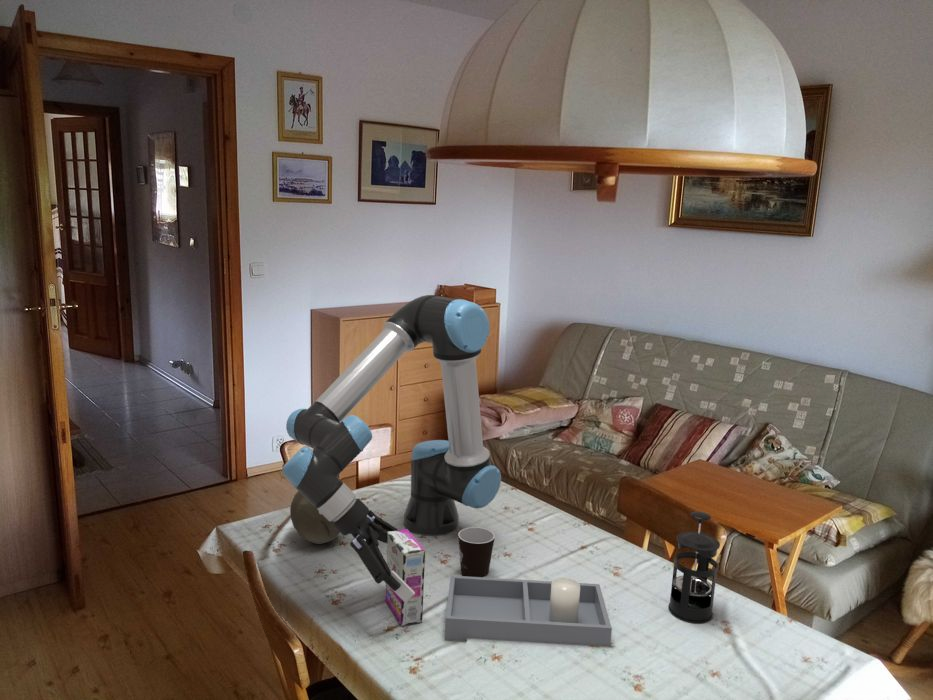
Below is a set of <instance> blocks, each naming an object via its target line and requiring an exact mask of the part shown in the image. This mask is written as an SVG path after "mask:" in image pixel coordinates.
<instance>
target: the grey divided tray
mask: <svg viewBox="0 0 933 700" xmlns="http://www.w3.org/2000/svg"><path fill="white" fill-rule="evenodd" d="M552 581H553V580H552ZM552 581H549V580H536V579H535V580H534V579H533V580H532V579H517V578H498V577H486V576H485V577H468V576H462V575H450V580H449V587H448V593H447V595H448V596H447V604H446V612H445V621H444V623H445V624H444V641H455V642H468V639H475V640H478V639H479V640H496V641H509V642H510V641H511V642H528V643H546V644H559V645H560V644H561V645H574V646H575V645H577V646H591V647H593V646H594V647H608V648H609V647H611V641H612V631H613V630H612V629H613V628H612V624H611V621H610V617H609V613H608V611H607V607H606V602H605V599H604V596H603V592H602V588H601V585H600V584H599V583H588V582H587V583H584V582H578V583H579V584H580V598H579V611H578V623H563V622H550V620H549V611H550V597H551V583H552Z"/></svg>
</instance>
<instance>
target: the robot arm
mask: <svg viewBox="0 0 933 700" xmlns="http://www.w3.org/2000/svg"><path fill="white" fill-rule="evenodd" d="M489 335H490V322H489V318H488V315H487V313H486V311H485V310H484V309H483V307H481V306H480V305H479V304H477V303H475V302H473V301H469V300H466V299H463V298H452V297H445V296H438V295H435V294H426V295H422V296H419V297H416V298H414V299H413V300H410V301H409V302H408V303H406V304H404V305H403V306H401V308H399V309H398V310H397V311H395V312H394V313H393V314H392V315H390V317H389V318H388V319H387V320H386V321H385V322H384V323H383V325H382V331H381V332H380V333H379V334H378V335H377V336H376V337H375V339H374V340H372V342H370V343H369V345H368V346H367V347H365V349H363V351H362V352H361V353H360V354H359V355H358V356H357V357H356V358H355V359H354V360H353V362H351V363H350V365H348V366H347V368H346V369H344V371H343V372H342V373H341V374H340V375H338V377H337V378H336V379H335V380H334V381H333V382H332V383H331V384H330V385H329V386H328V387H327V388H326V389H325V390H324V392H323V393H322V394H321V395H320V396H319V397H318V398H317V399H315V401H314V402H313V403H312V404H311V405H310V406H309V407H308V408H299V409H295V410H294V411H293V412H291V413H290V414H289V416H288V418H287V421H286V423H285V424H286V426H285V427H286V428H285V429H286V431H287V432H286V433H287V434H288V436H289V437H290V438H291V439H293V441H296V442H297V443H299V444H300V445H303V446H302V447H301V448H300V449H299V450H298V451H297V452H296V453H295V454H293V456H291V458H289V460H288V461H287V462H286V463H284V465H283V466H282V469H281V471H282V474H283V476H284V477H285V478H286V479H287V480H288V482H289V483H290V485H292V486H293V488H294V489H296V490H297V492H298V491H299V492H300V493H301V494H302V495H303V496H304V497H305V498H306V499H307V500H308V501H309V502H310V503H312V504H313V505H314V506H315V507H316V508H317V509H318V510H319V514H322V515H323V516H324V517H325V518H326V519H327V520H328V521H333V526H334V527H335V528H336V529H337V530H338V531H339V532H340V533H339V534H341V535H342V536H348V535H350V534H351V536H352V537H353V540H351V541H350V543H349V545H350V546H351V547H352V549H353V550H354V551H355V552H356V553H357V555H358V557H359V559H360V560H361V561H362V563H363V565H364V566H365V568H366V569H367V571H368V573H369V574H370V575H371V577H372V578H373V580H374V582H375V583H376V584H381V583H382V582H384V583H385V585H386V584H387V585H388V586H389V587H390V588H391V589H392V590H393V591H394V592H395V593H396V594H397V595H398V596H399V597H400V598H401V599H402V600H403V601H404V602H406V601H407V600H408V599H410V598H411V597H412V596H413V595H414V594H415V592H414V591H413V590H412V589H411V588H410V587H409V586H408V585H407V584H406V583H405V582H404V581H403V580H402V579H401V578H400V577H399V576H398V575H397V574H396V573H395V572H394V571H390V569H389V567H388V565H387V563H386V562H387V560H386V559H385V557H384V556H383V554H382V552H381V550H380V547H379V544H380V543H379V542H382V543H384V544H387V532H390V531H396V530H399V529H398V528H396V527H395V526H394V525H392V524H390V523H388V522H387V521H386V520H384V519H382V518H381V517H379V516H378V515H376V513H374V512H373V511H372V510H370V509H369V507H368V506H367V505H366V504H365V502H364V501H362V500H361V499H360V498H356V493H354V491H353V490H352V489H350V487H348V485H346V484H345V483H344V482H343V481H342V480H341V479H340V477H339V475H340V474H341V473H342V472H343V471H344V470H345V468H347V467H348V466H349V465H350V464H351V462H352V461H354V459H356V458H357V457H358V455H359V454H361V452H364V449H365V448H366V447H367V446H368V444H369V443H370V442H371V441H372V439H373V433H372V431H371V428H370V427H369V425H367V423H366V422H365V421H363V419H362V418H360V417H358V416H357V415H354V414H350V415H349V413H351V411H352V410H353V409H354V408H355V407H356V406H357V405H358V404H359V403H360V401H362V400H363V398H364V397H365V396H366V395H367V394H368V393H369V392H370V391H371V390H372V389H373V387H375V386H376V384H377V383H379V381H380V380H381V379H382V378H383V377H384V376H385V374H386V373H388V371H389V370H390V369H391V368H392V367H393V366H394V365H395V364H396V363H397V362H398V360H400V358H401V357H403V355H404V354H405V353H406V352H412V351H413V350H414V349H415V348H416V347H417V346H418V345H421V344H422V343H430V344H432V345H431V346H432V353H433V354H432V355H433V358H434V359H435V360H437V362H439V363H440V368H441V379H442V390H443V400H444V407H445V418H446V429H447V437H448V439H447V440H445V439H434V440H433V439H432V440H426V441H422V442H418V443H417V444H415V445H414V446H413V448H412V452H411V458H410V497H409V501H408V503H407V506H406V507H405V510H404V513H403V525H404V527H405V529H408V530H409V532H412V533H414V534H418V535H423V536H425V535H426V536H441V535H446V534H448V533H451V532H454V531H455V530H456V529H457V528H458V527H459V522H460V521H459V519H460V517H459V516H460V515H459V513H458V509H457V505H456V502H458V503H460V504H462V505H463V506H466V507H470V508H472V509H473V508H474V509H477V510H478V509H482V508H484V507H486V506H488V505H489V504H490V503H491V502H492V501H493V500H494V499H495V498H496V496H497V494H498V492H499V490H500V487H501V483H502V474H501V471H500V468H498V467H497V466H496V465H492V463H491V453H490V450H489V449H488V448H486V447H485V446H484V440H483V431H482V430H483V429H482V427H483V426H482V418H481V417H482V415H481V408H480V407H481V406H480V395H479V394H480V393H479V382H478V372H477V358H479V356H480V355H481V354H482V349H483V347H485V345H486V343H487V338H489ZM311 448H312V449H311Z"/></svg>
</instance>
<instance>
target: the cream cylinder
mask: <svg viewBox="0 0 933 700" xmlns="http://www.w3.org/2000/svg"><path fill="white" fill-rule="evenodd" d="M579 583H580V582H578V581H576V580H575V579H572V578H569V577H558V578H555V579H553V580H552V583H551V597H550V611H549V620H550V622H563V623H578V611H579V598H580V584H579Z"/></svg>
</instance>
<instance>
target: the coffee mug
mask: <svg viewBox="0 0 933 700" xmlns="http://www.w3.org/2000/svg"><path fill="white" fill-rule="evenodd" d="M457 536H458V537H457V538H458V550H459V563H460V576H468V577H485V578H486V577H487V576H488V575H489V571H490V566H491V559H492V554H493V549H494V543H495V539H496V536H495V533H494V532H493V531H492V530H490V529H487V528H484V527H477V526H473V527H471V526H470V527H466V528H463V529H461V530H460V531H458V534H457Z"/></svg>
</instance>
